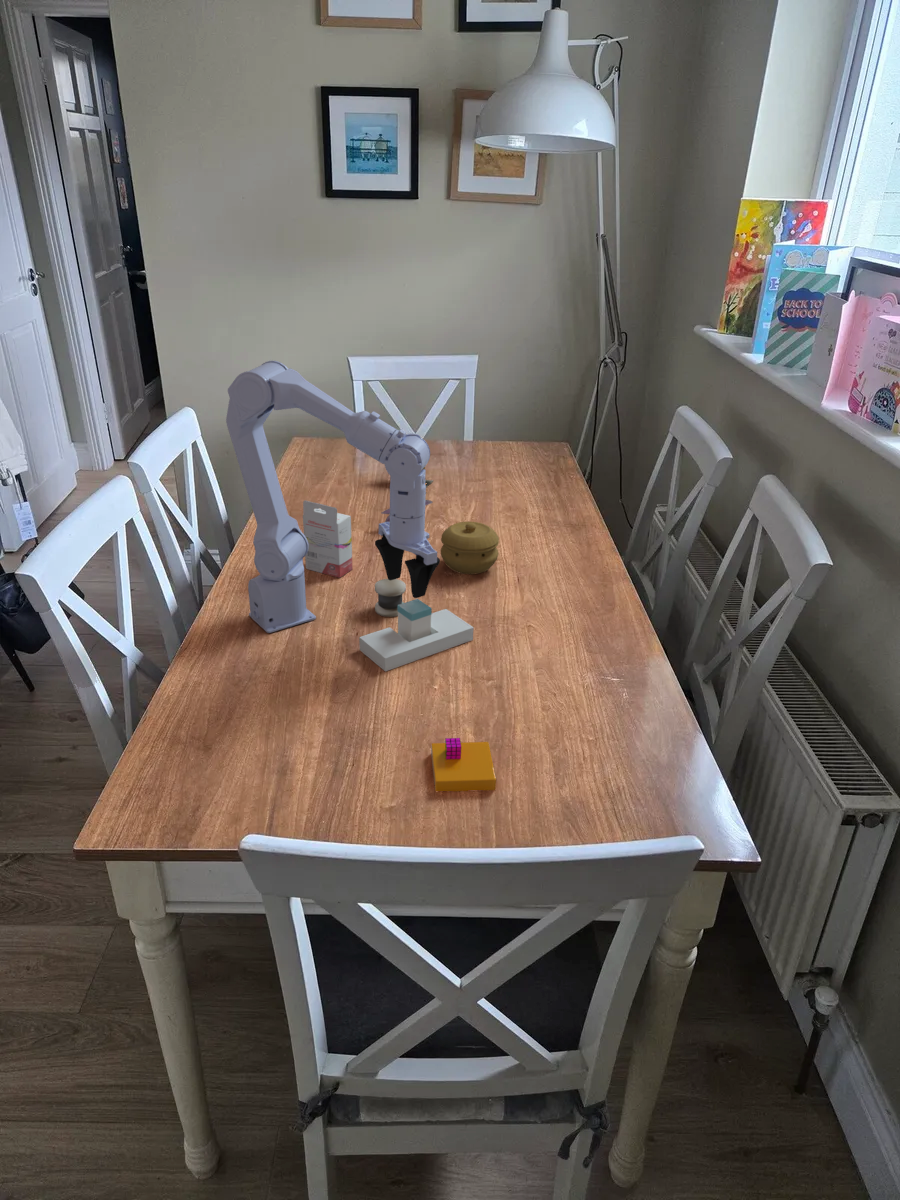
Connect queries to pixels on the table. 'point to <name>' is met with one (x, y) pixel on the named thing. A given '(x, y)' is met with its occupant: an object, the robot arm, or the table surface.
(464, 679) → the table surface
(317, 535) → the ink cartridge box
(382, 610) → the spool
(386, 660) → the notched board
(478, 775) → the mustard square tile
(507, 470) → the table surface
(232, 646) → the table surface
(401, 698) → the table surface
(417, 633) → the teal and white block
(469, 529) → the pot
